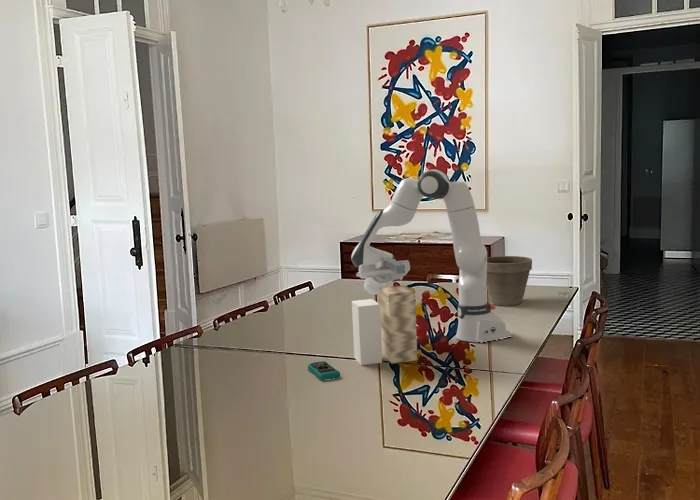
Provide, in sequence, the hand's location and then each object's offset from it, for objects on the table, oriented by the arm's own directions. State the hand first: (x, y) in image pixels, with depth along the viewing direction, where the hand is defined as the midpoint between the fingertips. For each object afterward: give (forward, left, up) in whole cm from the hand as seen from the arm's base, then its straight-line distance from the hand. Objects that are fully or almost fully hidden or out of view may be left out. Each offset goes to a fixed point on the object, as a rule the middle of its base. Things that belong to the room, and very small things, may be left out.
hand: (388, 261), depth 267 cm
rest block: (+12, +9, -35) cm, 38 cm away
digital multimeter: (+31, +18, -36) cm, 50 cm away
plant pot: (-75, -54, -35) cm, 99 cm away
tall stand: (0, +10, -35) cm, 36 cm away
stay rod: (0, +6, -2) cm, 6 cm away
